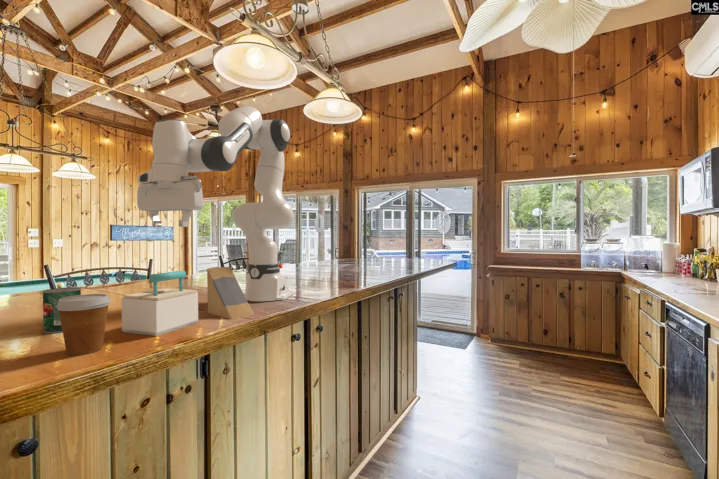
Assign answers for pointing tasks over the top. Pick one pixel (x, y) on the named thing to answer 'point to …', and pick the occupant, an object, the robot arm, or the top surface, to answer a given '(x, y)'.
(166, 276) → the front flap
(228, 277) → the sandwich container
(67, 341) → the disposable coffee cup
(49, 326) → the canned tomato
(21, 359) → the top surface
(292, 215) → the robot arm
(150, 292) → the back flap
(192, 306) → the white carton
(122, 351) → the top surface
